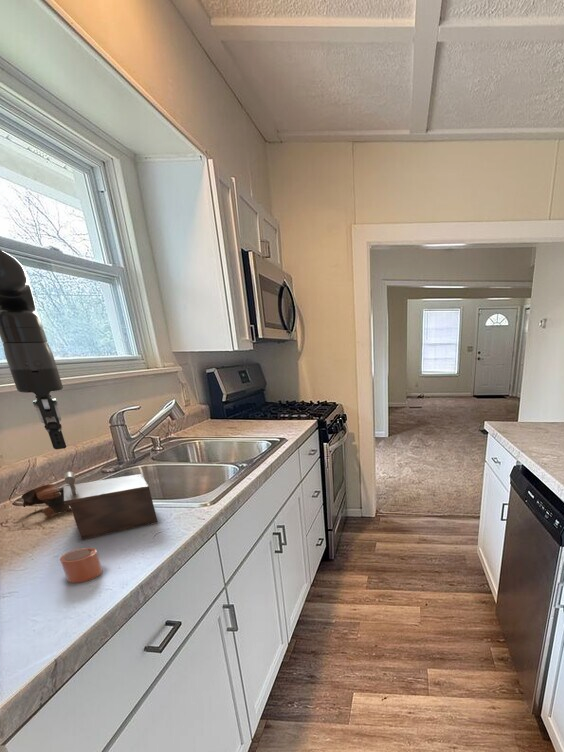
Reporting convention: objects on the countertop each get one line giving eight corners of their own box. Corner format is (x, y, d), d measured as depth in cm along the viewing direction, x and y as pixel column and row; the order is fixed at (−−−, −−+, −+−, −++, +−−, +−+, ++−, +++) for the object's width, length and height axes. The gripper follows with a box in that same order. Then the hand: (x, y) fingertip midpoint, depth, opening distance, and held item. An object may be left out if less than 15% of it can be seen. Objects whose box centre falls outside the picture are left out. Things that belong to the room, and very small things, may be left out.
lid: (64, 504, 87) (57, 482, 85) (64, 489, 96) (57, 469, 94) (149, 489, 96) (144, 469, 94) (141, 476, 105) (136, 458, 103)
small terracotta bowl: (75, 586, 73) (67, 564, 72) (62, 577, 76) (54, 556, 74) (108, 572, 78) (101, 552, 76) (94, 564, 80) (88, 545, 79)
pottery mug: (34, 523, 101) (13, 495, 99) (41, 527, 109) (22, 501, 107) (85, 500, 107) (66, 473, 105) (89, 505, 115) (71, 480, 113)
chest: (81, 539, 91) (69, 503, 87) (79, 522, 100) (68, 488, 97) (157, 522, 99) (149, 489, 96) (149, 507, 109) (141, 476, 105)
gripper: (10, 366, 84) (36, 442, 91) (8, 368, 74) (38, 454, 81) (54, 365, 89) (77, 437, 95) (58, 367, 79) (83, 448, 85)
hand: (59, 445), depth 88 cm, fingers open, 8 cm apart
